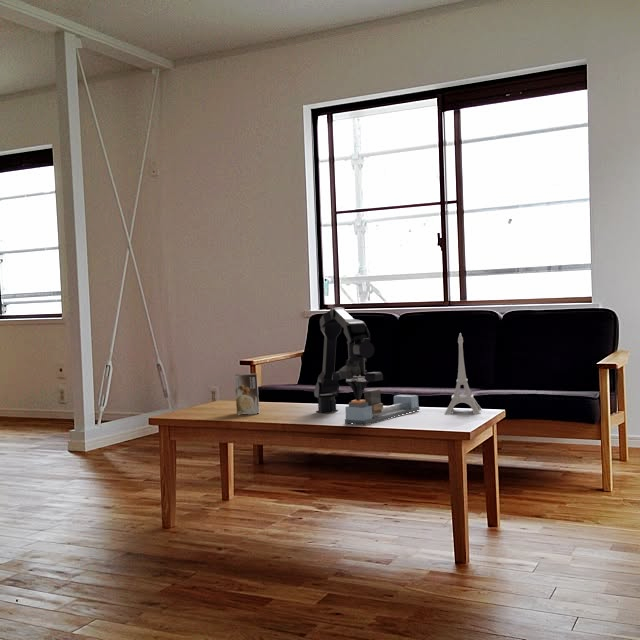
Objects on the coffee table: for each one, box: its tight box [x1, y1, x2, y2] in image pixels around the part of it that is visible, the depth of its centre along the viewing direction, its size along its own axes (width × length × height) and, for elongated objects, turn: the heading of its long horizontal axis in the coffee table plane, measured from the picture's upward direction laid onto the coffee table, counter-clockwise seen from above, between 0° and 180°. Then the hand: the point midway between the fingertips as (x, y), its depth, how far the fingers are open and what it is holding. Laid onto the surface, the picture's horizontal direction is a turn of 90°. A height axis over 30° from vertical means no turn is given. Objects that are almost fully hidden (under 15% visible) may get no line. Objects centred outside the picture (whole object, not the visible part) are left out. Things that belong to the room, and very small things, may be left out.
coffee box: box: [234, 373, 260, 415], centre depth 319 cm, size 9×6×16 cm
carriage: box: [363, 388, 384, 415], centre depth 288 cm, size 5×6×8 cm
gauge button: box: [350, 399, 365, 403], centre depth 281 cm, size 4×4×2 cm
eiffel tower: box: [443, 332, 483, 415], centre depth 299 cm, size 13×13×30 cm
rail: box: [344, 394, 421, 426], centre depth 294 cm, size 9×37×8 cm, turn 142°
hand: (358, 400), depth 281 cm, fingers closed, pressing on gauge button
